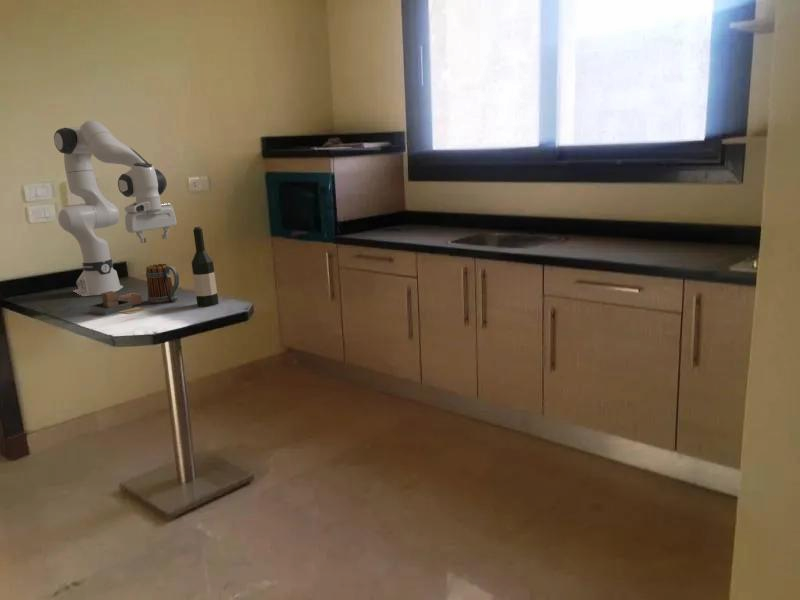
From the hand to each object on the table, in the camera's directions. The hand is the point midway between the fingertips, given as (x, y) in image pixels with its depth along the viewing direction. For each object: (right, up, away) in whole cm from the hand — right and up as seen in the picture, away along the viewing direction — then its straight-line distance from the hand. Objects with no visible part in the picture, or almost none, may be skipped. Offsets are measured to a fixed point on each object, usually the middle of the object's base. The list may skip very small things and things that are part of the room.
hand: (154, 240), depth 263 cm
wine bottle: (+22, -25, -3) cm, 33 cm away
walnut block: (-15, -27, -4) cm, 31 cm away
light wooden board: (-5, -28, -7) cm, 29 cm away
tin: (-15, -28, -4) cm, 32 cm away
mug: (+3, -24, +6) cm, 25 cm away
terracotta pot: (-11, -25, +5) cm, 28 cm away
